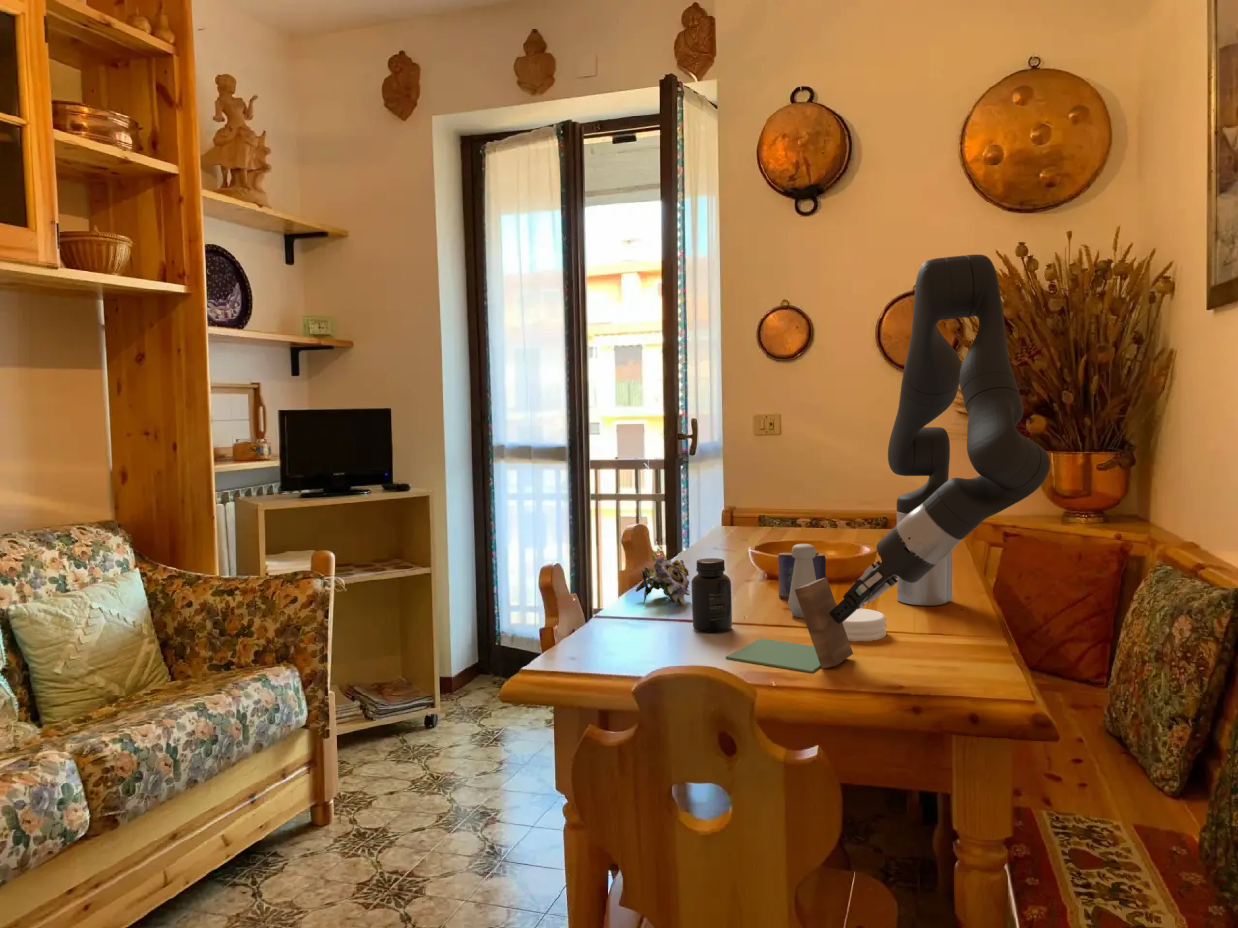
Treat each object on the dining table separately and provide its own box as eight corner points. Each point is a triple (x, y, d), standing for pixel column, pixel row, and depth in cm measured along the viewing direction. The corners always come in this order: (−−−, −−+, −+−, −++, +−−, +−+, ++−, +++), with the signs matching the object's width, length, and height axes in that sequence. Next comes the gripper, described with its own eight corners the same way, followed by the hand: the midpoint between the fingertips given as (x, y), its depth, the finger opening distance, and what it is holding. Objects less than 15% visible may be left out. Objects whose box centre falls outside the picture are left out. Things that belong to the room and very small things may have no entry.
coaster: (849, 646, 138) (849, 624, 138) (812, 631, 147) (811, 611, 147) (899, 637, 142) (899, 616, 142) (859, 624, 151) (859, 604, 151)
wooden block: (853, 653, 131) (826, 577, 132) (835, 665, 125) (808, 585, 127) (838, 656, 132) (812, 581, 134) (820, 669, 126) (793, 589, 128)
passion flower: (681, 632, 169) (682, 591, 161) (627, 619, 172) (626, 578, 164) (695, 590, 177) (696, 549, 169) (644, 578, 180) (643, 537, 172)
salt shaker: (821, 619, 154) (820, 547, 153) (788, 619, 155) (787, 547, 154) (820, 611, 160) (819, 542, 159) (788, 611, 161) (787, 541, 160)
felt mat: (842, 651, 134) (842, 650, 134) (812, 672, 125) (812, 670, 125) (760, 639, 142) (760, 637, 142) (725, 658, 133) (725, 656, 133)
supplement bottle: (735, 624, 152) (734, 557, 152) (727, 635, 146) (726, 564, 145) (697, 622, 155) (696, 556, 154) (688, 632, 148) (686, 563, 147)
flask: (777, 598, 171) (777, 545, 171) (780, 595, 174) (779, 542, 173) (825, 601, 168) (825, 546, 168) (827, 598, 171) (826, 544, 170)
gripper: (913, 516, 127) (834, 589, 135) (884, 528, 116) (800, 607, 124) (951, 554, 125) (867, 627, 133) (925, 570, 114) (836, 649, 122)
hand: (835, 617), depth 128 cm, fingers closed
